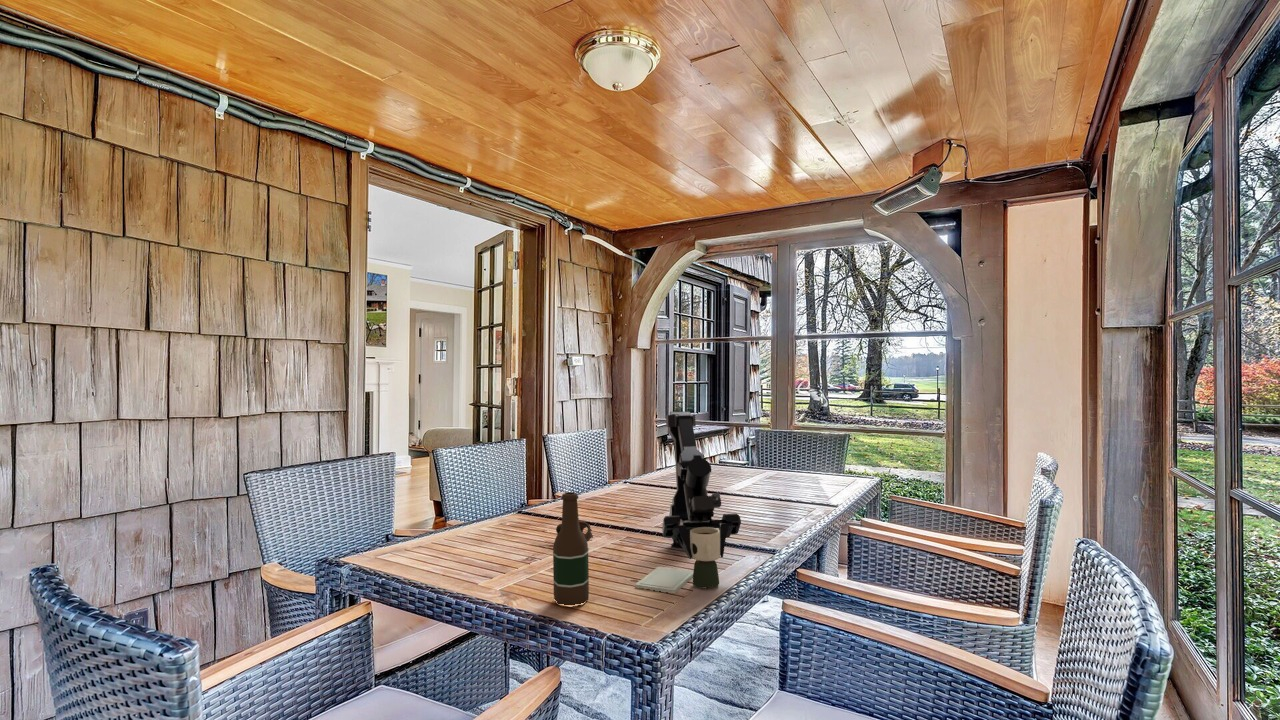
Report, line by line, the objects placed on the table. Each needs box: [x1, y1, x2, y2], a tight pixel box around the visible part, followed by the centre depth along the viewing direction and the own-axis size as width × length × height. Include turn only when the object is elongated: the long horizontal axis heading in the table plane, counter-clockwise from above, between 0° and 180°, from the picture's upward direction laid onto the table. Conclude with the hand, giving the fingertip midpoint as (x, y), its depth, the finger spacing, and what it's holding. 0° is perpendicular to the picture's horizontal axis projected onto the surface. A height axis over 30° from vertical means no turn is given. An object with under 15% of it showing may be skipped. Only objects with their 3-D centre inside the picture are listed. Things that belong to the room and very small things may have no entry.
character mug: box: [690, 527, 721, 589], centre depth 140 cm, size 11×7×13 cm, turn 2°
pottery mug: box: [555, 520, 594, 543], centre depth 176 cm, size 12×10×8 cm
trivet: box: [634, 566, 694, 594], centre depth 144 cm, size 10×14×1 cm
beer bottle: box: [552, 491, 590, 605], centre depth 132 cm, size 8×8×24 cm
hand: (706, 557), depth 139 cm, fingers closed on character mug, 7 cm apart
